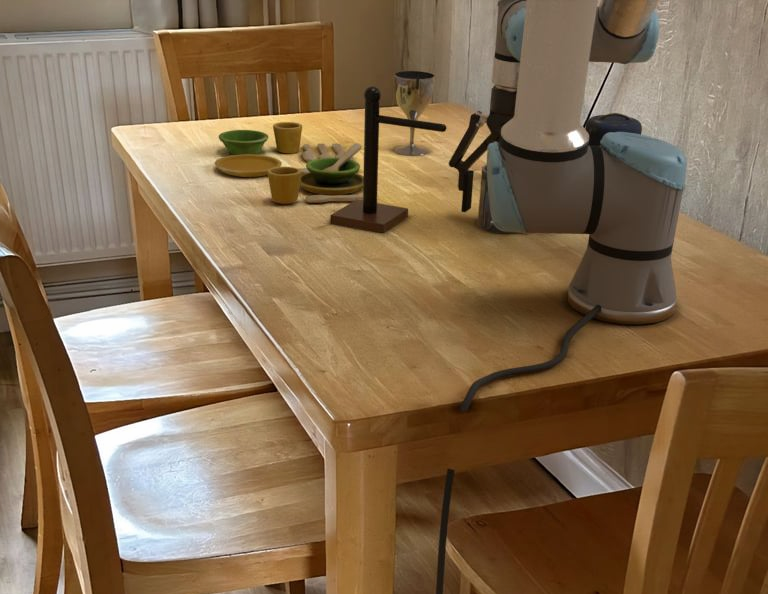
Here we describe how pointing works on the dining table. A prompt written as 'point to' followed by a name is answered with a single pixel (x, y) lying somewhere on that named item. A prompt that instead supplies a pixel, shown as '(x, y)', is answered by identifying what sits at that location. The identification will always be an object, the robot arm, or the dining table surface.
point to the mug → (486, 206)
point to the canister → (610, 126)
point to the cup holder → (376, 172)
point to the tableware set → (285, 181)
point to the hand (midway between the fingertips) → (503, 216)
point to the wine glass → (413, 102)
